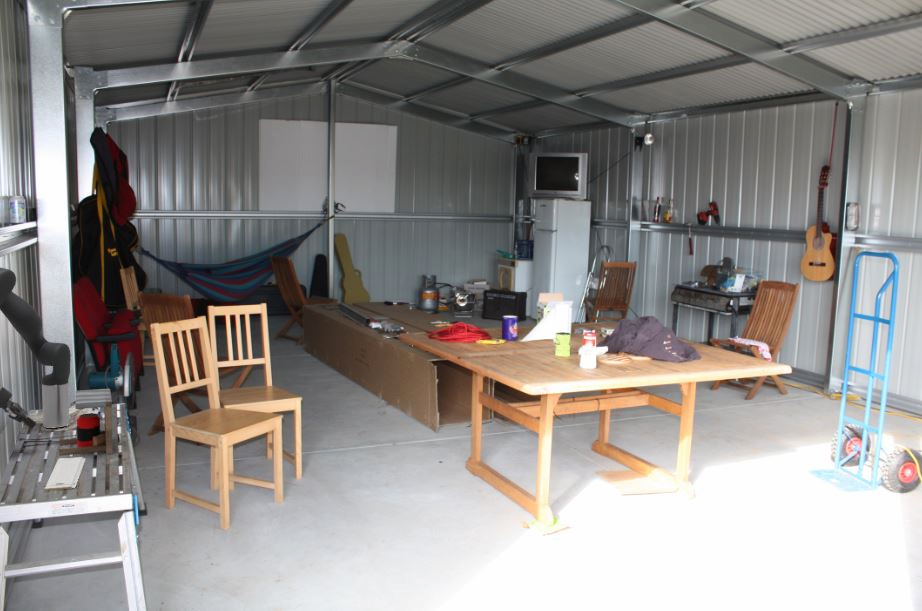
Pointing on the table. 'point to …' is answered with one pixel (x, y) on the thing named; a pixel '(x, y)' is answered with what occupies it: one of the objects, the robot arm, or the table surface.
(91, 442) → the soda can
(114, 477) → the table surface
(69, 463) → the baseboard
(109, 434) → the overhang shelf
